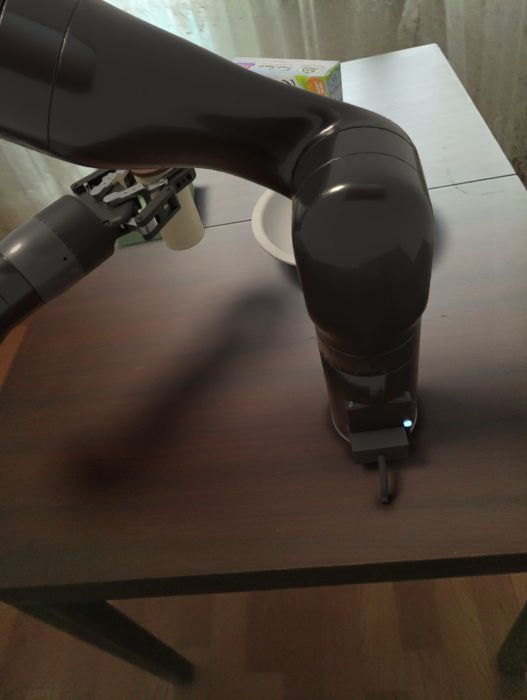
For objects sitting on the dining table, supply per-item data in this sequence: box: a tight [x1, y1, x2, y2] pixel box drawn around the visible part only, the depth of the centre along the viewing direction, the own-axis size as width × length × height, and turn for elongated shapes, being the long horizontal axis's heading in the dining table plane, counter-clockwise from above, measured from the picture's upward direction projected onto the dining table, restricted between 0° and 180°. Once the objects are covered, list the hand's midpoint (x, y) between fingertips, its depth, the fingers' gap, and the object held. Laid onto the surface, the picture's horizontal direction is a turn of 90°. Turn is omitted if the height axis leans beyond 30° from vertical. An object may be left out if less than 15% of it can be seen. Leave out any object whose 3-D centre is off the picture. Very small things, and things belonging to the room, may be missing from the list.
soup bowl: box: [251, 188, 296, 267], centre depth 73 cm, size 24×24×7 cm
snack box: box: [230, 56, 344, 102], centre depth 88 cm, size 21×6×15 cm, turn 58°
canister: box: [131, 168, 206, 252], centre depth 58 cm, size 5×5×11 cm
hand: (175, 161), depth 57 cm, fingers closed on canister, 5 cm apart
